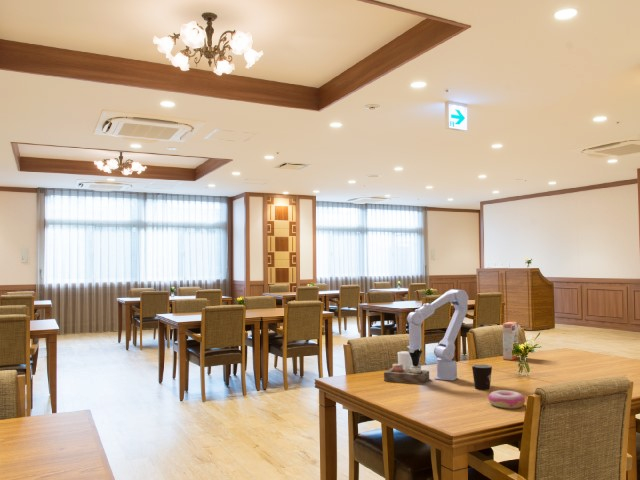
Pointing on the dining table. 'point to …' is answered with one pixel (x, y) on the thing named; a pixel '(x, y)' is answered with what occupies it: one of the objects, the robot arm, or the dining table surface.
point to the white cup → (405, 359)
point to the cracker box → (509, 339)
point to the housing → (406, 376)
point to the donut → (506, 399)
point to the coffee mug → (482, 376)
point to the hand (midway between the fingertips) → (415, 365)
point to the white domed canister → (415, 369)
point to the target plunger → (397, 367)
